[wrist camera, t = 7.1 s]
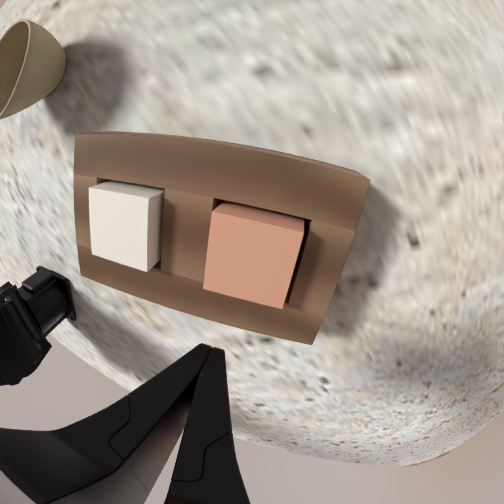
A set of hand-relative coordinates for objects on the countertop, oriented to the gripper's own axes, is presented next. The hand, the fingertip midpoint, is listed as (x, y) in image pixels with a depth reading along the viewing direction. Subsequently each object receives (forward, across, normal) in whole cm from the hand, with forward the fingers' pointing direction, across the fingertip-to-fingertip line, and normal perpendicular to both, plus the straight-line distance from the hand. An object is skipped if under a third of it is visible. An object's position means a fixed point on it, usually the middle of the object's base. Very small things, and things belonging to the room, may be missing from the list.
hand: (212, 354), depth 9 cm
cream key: (+10, +9, 0) cm, 14 cm away
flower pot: (+13, +25, -13) cm, 31 cm away
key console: (+13, +5, 0) cm, 13 cm away
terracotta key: (+10, 0, 0) cm, 10 cm away
